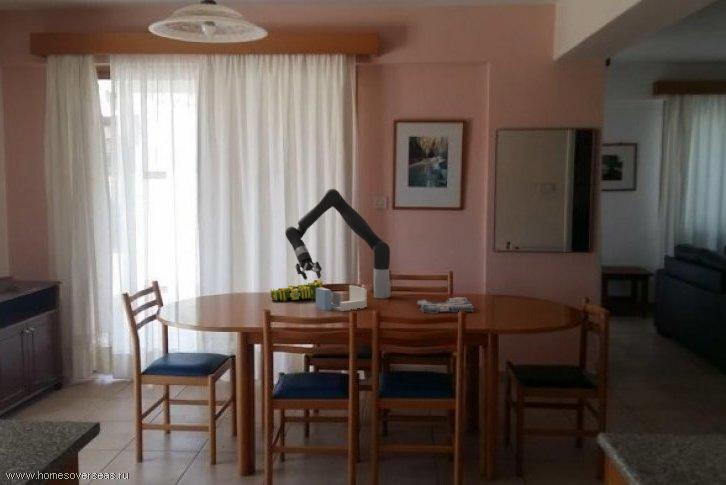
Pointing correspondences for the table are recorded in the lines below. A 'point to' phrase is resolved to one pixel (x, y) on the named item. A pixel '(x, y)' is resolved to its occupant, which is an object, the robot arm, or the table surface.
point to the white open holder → (351, 299)
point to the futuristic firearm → (446, 305)
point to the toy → (296, 292)
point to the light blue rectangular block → (323, 299)
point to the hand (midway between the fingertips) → (313, 278)
